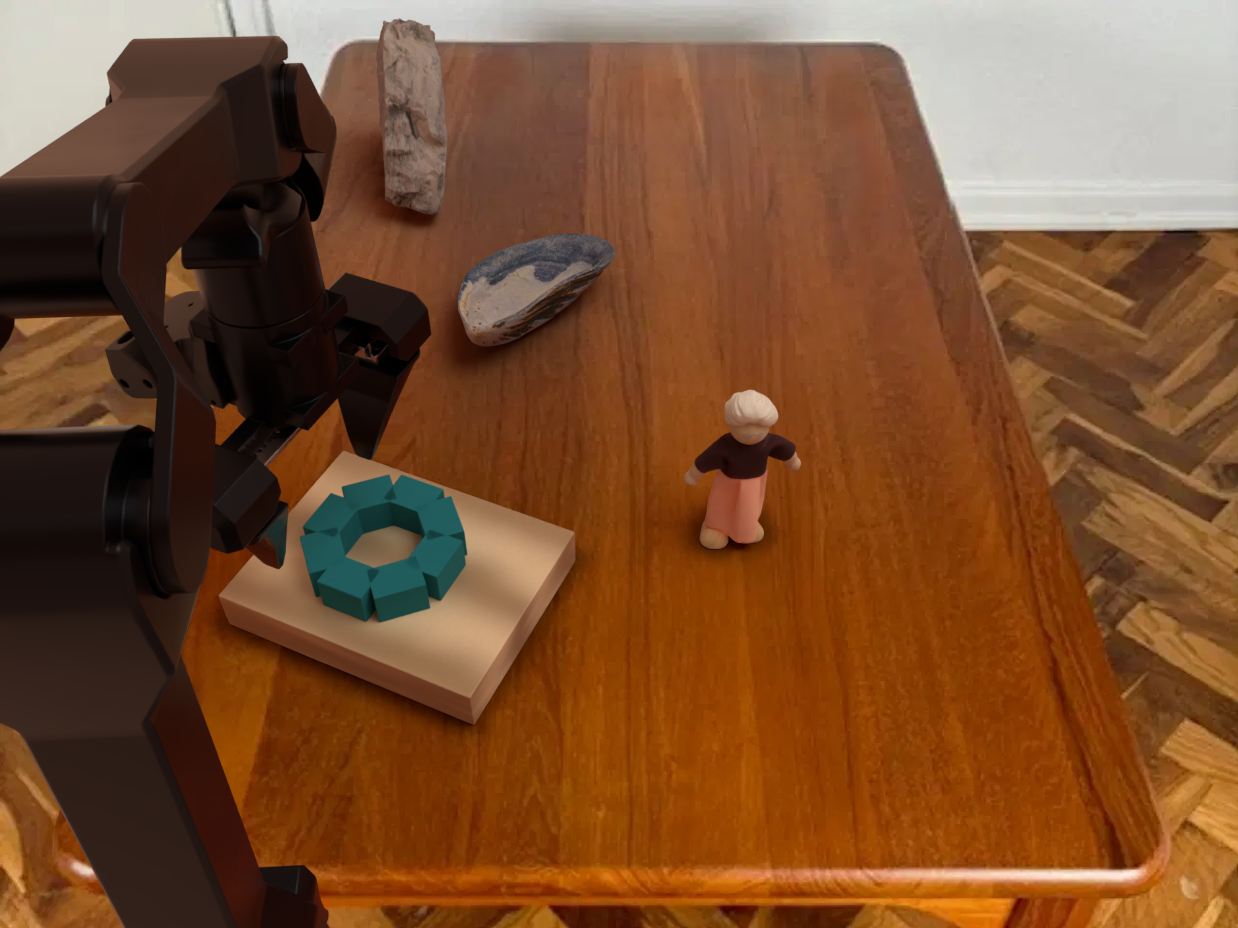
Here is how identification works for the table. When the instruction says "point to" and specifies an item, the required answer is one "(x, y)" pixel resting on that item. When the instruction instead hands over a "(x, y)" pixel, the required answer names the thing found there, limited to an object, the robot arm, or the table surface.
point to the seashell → (528, 285)
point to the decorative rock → (412, 115)
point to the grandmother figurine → (740, 470)
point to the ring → (393, 583)
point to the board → (422, 641)
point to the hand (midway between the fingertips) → (321, 508)
